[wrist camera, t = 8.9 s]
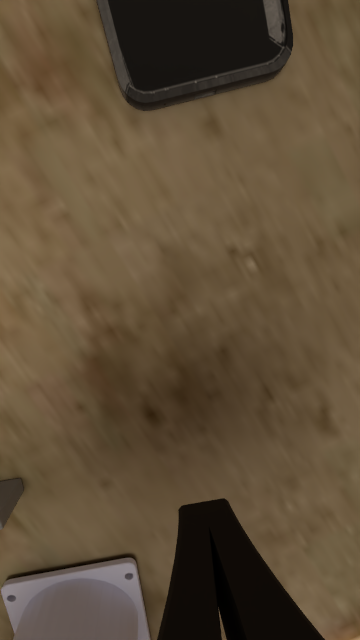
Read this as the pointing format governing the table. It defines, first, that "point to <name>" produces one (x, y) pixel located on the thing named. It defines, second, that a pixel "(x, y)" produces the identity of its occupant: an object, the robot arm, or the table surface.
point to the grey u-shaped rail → (9, 498)
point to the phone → (194, 46)
